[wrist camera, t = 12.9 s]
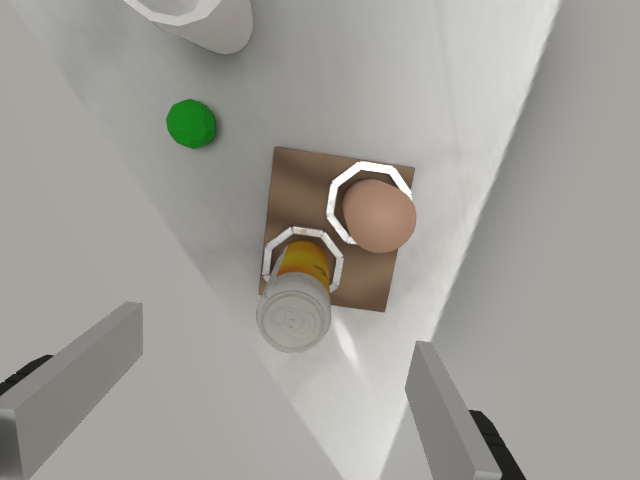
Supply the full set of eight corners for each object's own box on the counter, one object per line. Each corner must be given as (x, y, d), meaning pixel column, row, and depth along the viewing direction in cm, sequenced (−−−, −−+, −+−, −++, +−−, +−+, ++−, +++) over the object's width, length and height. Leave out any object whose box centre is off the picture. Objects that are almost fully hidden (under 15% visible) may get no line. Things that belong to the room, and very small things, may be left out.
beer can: (316, 293, 41) (313, 368, 27) (271, 275, 41) (242, 341, 26) (336, 250, 40) (344, 304, 25) (289, 230, 39) (269, 274, 25)
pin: (346, 174, 38) (353, 180, 28) (398, 181, 38) (423, 190, 28) (337, 225, 39) (341, 247, 30) (387, 232, 39) (408, 257, 30)
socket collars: (277, 149, 37) (275, 148, 36) (414, 169, 37) (418, 170, 36) (262, 292, 41) (259, 297, 40) (385, 309, 42) (387, 315, 40)
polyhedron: (223, 148, 39) (209, 147, 34) (181, 149, 39) (162, 148, 34) (218, 102, 38) (204, 94, 33) (175, 104, 38) (155, 96, 33)
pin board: (276, 147, 39) (274, 146, 37) (411, 167, 39) (415, 167, 37) (260, 289, 43) (258, 294, 42) (382, 307, 43) (384, 312, 42)
